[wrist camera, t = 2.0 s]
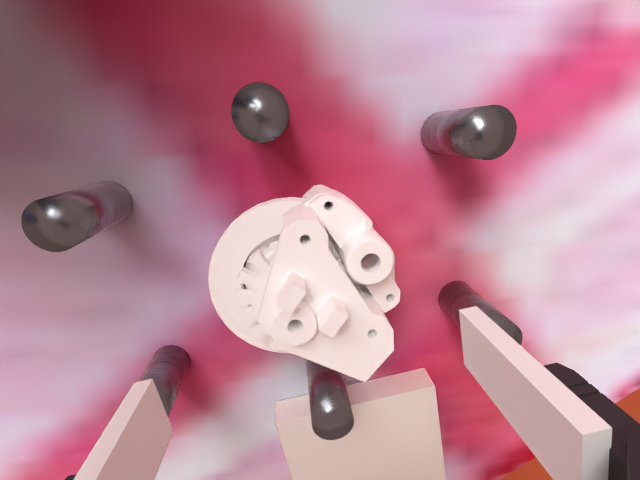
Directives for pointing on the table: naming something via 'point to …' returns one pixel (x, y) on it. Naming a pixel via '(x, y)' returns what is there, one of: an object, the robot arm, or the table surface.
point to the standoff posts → (264, 126)
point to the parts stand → (369, 433)
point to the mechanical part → (308, 281)
